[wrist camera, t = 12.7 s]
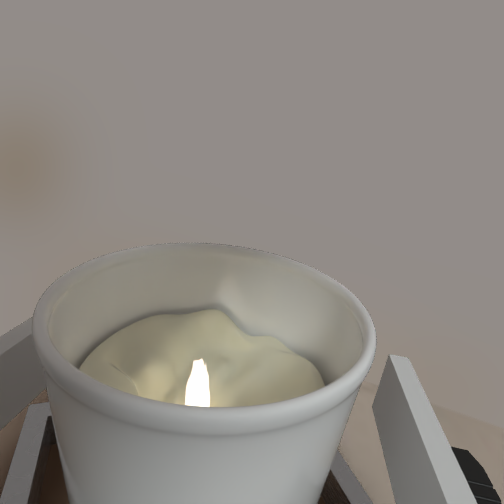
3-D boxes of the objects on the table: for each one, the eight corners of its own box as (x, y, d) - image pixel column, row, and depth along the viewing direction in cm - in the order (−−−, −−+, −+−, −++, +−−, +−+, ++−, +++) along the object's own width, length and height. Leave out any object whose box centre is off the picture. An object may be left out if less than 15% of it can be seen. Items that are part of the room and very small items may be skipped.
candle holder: (164, 415, 20) (172, 228, 16) (322, 484, 17) (378, 276, 13) (-3, 619, 11) (-74, 317, 7) (263, 830, 8) (378, 515, 4)
